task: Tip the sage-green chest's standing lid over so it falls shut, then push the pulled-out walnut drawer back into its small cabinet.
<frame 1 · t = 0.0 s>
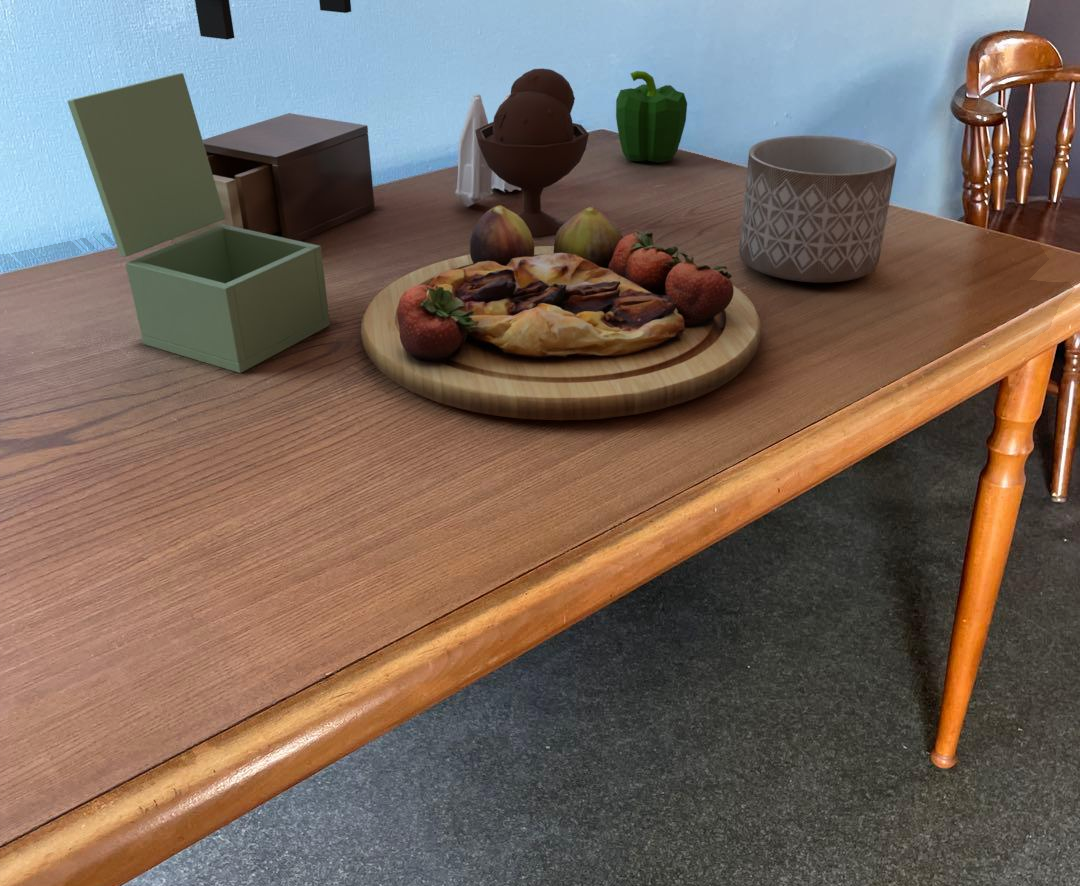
hand: (280, 24, 86), 22 cm above the table, tool pointing down, fingers open, 13 cm apart
chest lid: (136, 164, 86), point 13 cm above the table, hinge at 100.0°
planter: (806, 270, 101), on the table
cabinet: (294, 218, 114), on the table
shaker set: (490, 200, 119), on the table
bell pepper: (648, 160, 132), on the table
drawer: (227, 199, 105), point 4 cm above the table, slide at 5.0 cm
chest: (238, 334, 89), on the table
ice cream bowl: (532, 229, 111), on the table
wooden plate: (560, 339, 89), on the table
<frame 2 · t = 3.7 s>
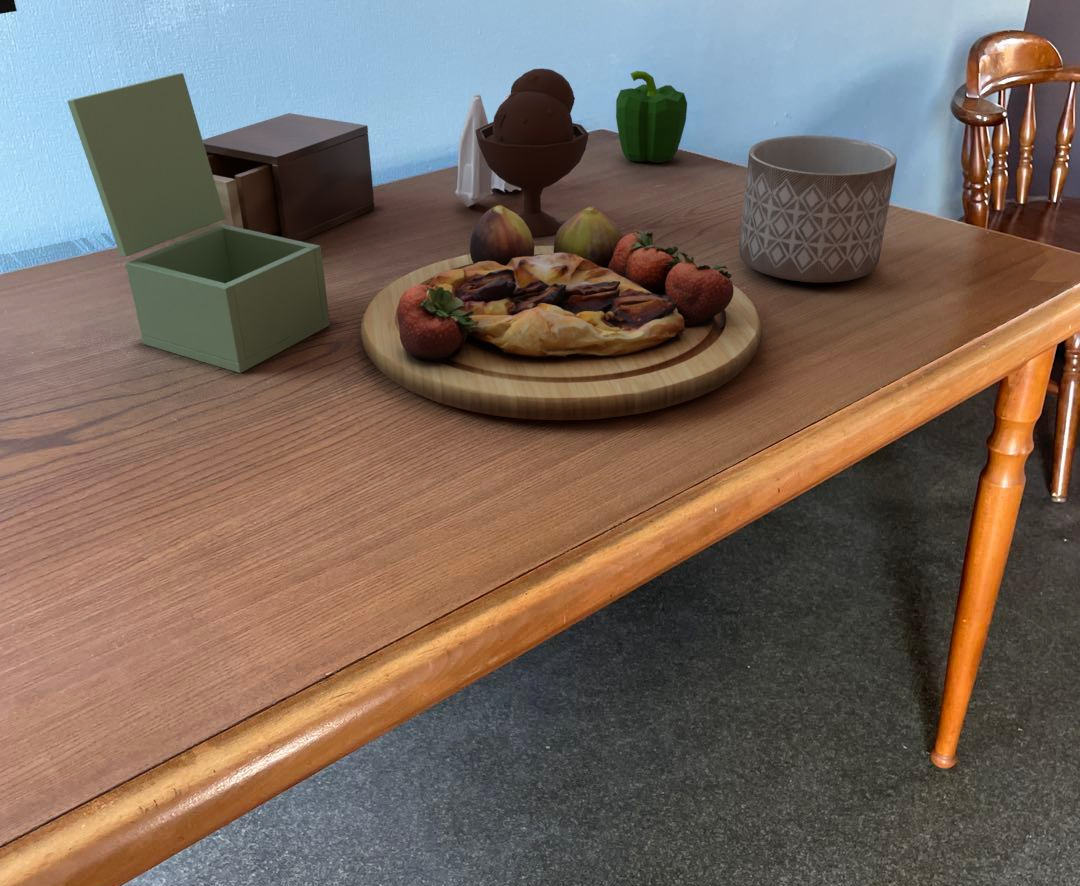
nothing on the table moved.
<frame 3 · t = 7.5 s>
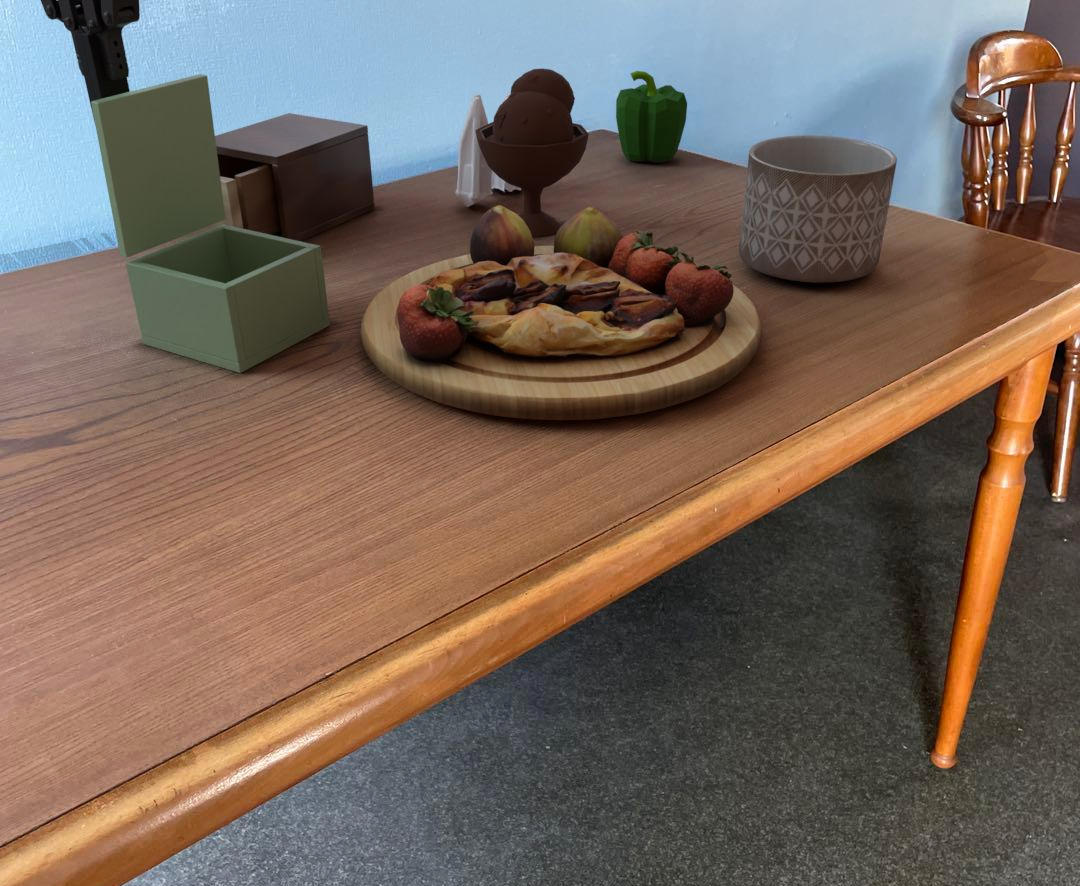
hand: (115, 122, 85), 16 cm above the table, tool pointing down, fingers closed
chest lid: (147, 160, 85), point 13 cm above the table, hinge at 86.8°
everything else where it was.
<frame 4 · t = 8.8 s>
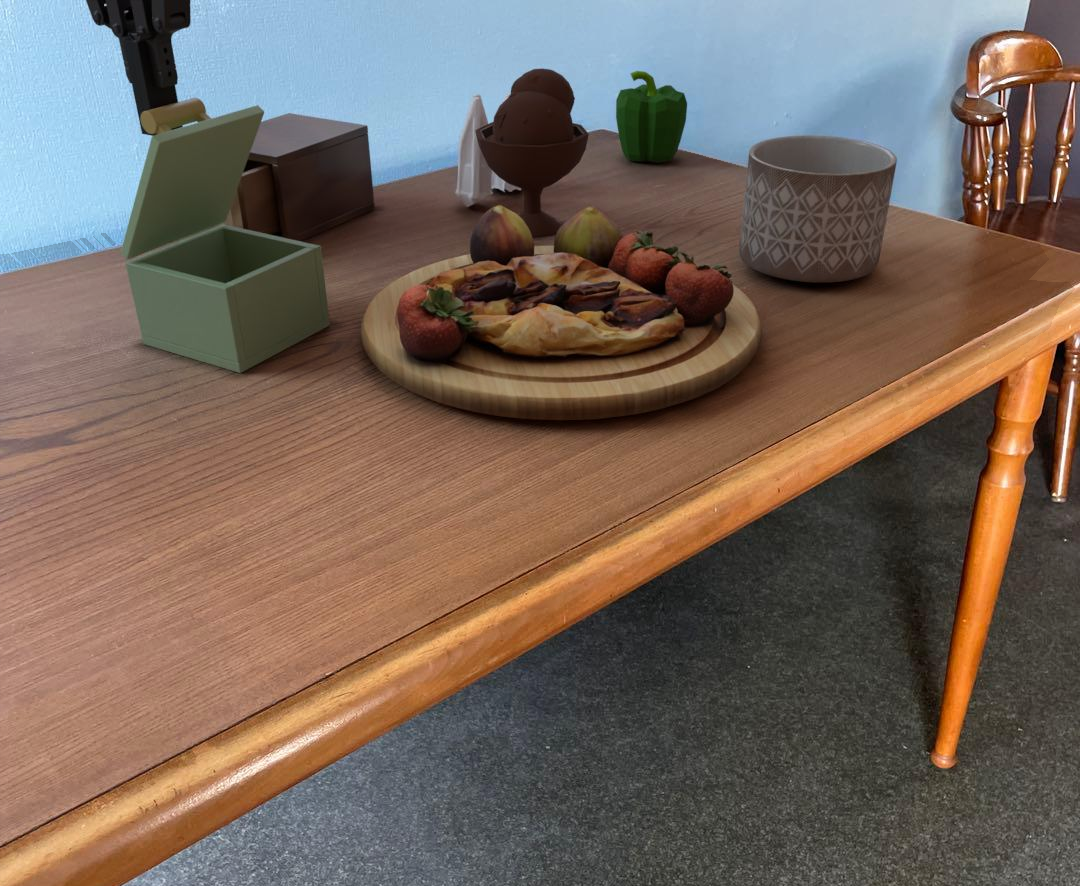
hand: (162, 130, 82), 16 cm above the table, tool pointing down, fingers closed
chest lid: (175, 166, 84), point 13 cm above the table, hinge at 56.8°
everything else where it was.
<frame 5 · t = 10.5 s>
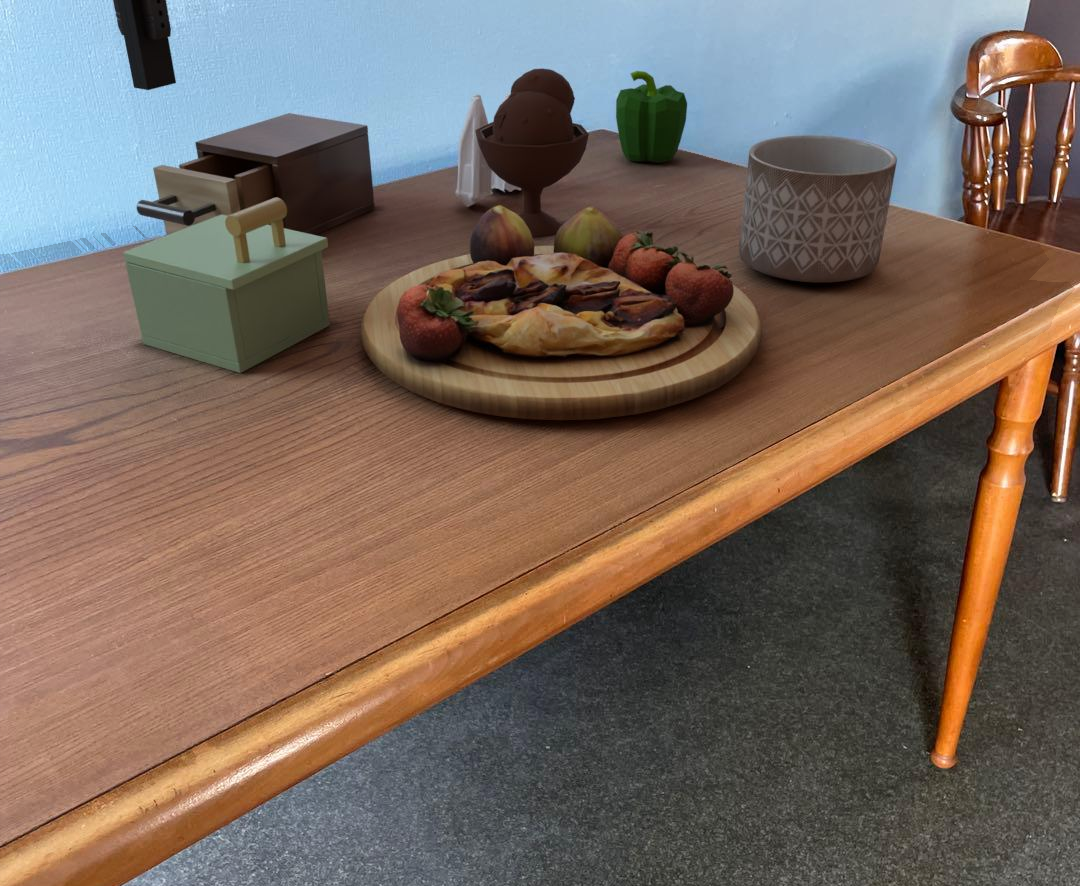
hand: (155, 85, 80), 19 cm above the table, tool pointing down, fingers closed
chest lid: (223, 226, 84), point 9 cm above the table, hinge at -0.2°
everything else where it was.
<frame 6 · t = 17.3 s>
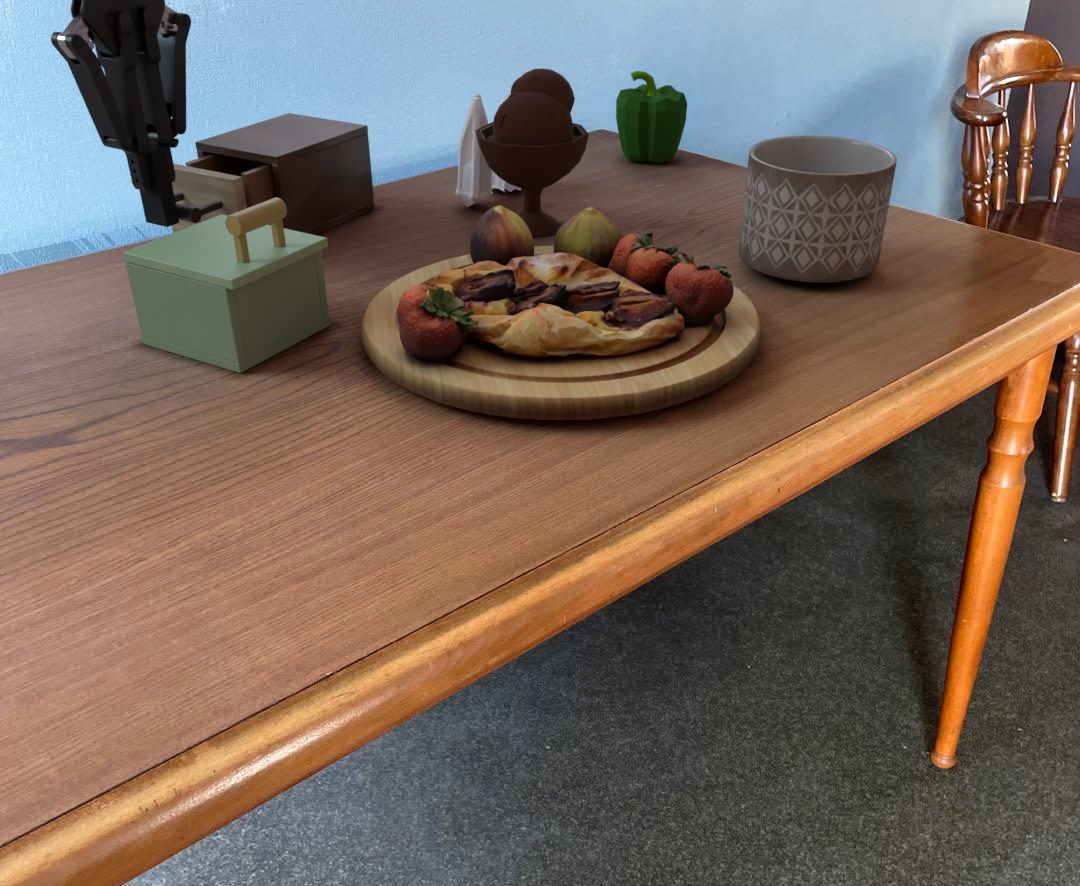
hand: (162, 222, 99), 4 cm above the table, tool pointing down, fingers closed
drawer: (233, 197, 106), point 4 cm above the table, slide at 4.1 cm, touching gripper
everything else where it was.
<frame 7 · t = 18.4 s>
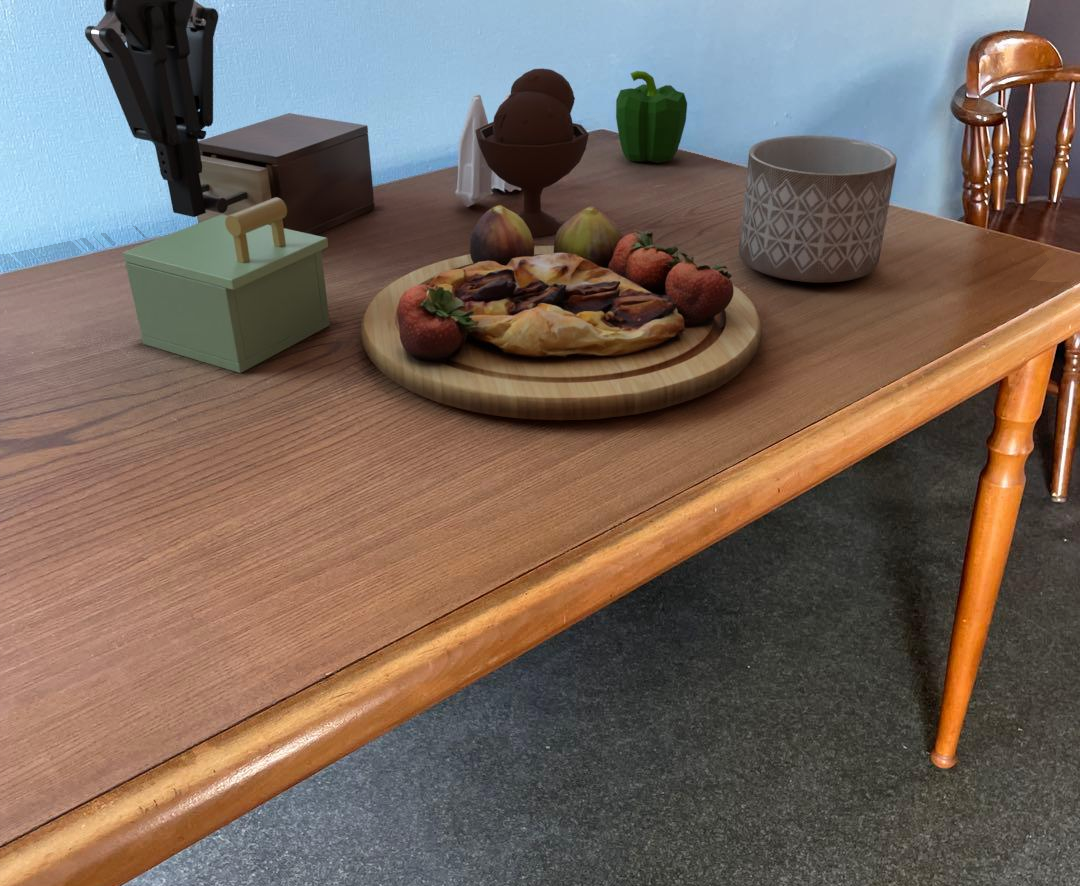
hand: (189, 212, 102), 4 cm above the table, tool pointing down, fingers closed
drawer: (257, 188, 108), point 4 cm above the table, slide at 0.8 cm, touching gripper
everything else where it was.
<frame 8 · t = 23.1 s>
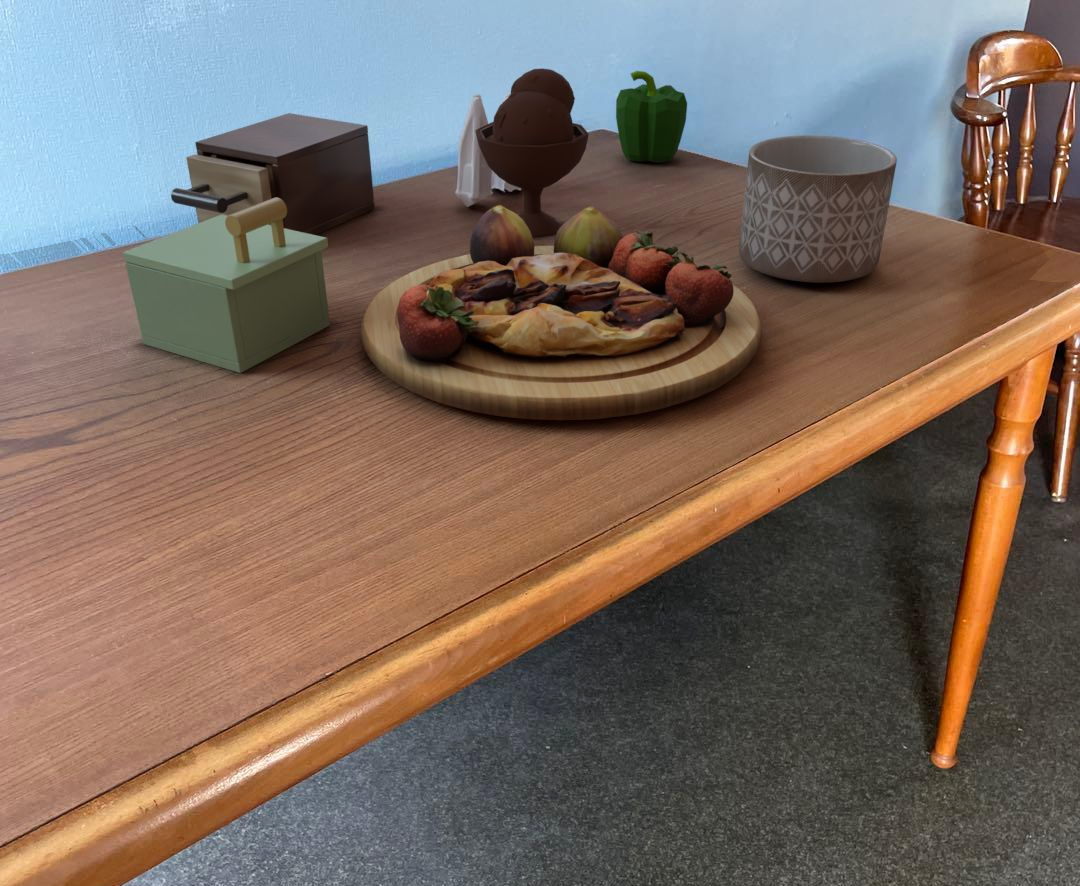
drawer: (257, 188, 108), point 4 cm above the table, slide at 0.8 cm
everything else where it was.
at the end: chest lid at +0° (first picture: +100°); drawer slide at 0.8 cm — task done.
